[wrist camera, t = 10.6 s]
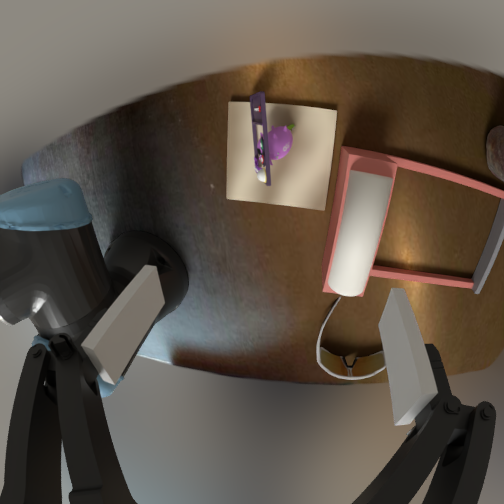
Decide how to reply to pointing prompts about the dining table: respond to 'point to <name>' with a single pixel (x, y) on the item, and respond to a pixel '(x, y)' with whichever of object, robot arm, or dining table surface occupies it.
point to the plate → (290, 166)
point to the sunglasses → (339, 366)
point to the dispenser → (373, 219)
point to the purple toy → (267, 139)
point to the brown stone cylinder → (496, 151)
